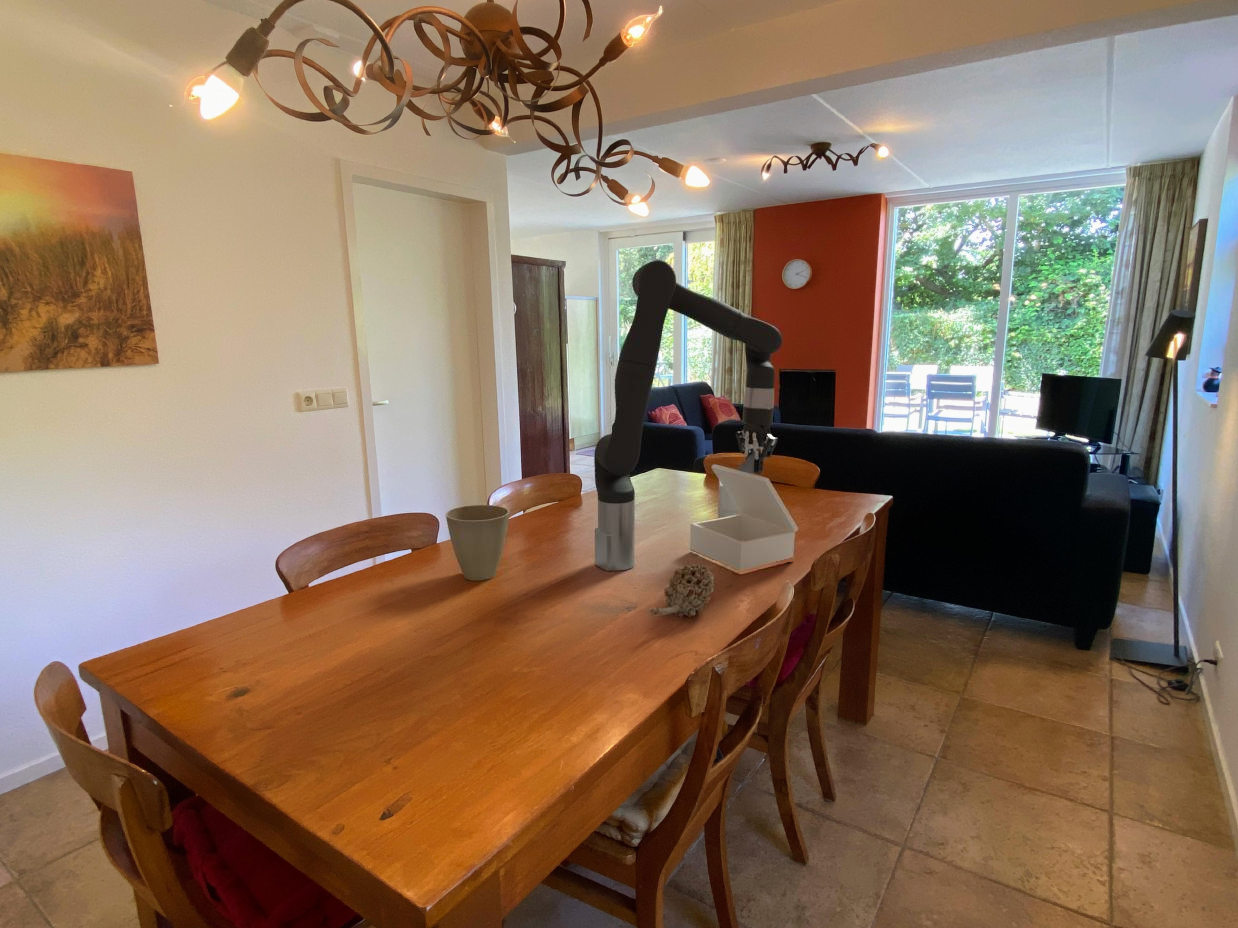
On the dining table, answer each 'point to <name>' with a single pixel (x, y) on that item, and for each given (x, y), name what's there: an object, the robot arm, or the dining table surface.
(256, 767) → the dining table surface
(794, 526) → the mailer lid
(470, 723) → the dining table surface
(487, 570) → the plant pot
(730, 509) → the supplement box
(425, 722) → the dining table surface
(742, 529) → the mailer box
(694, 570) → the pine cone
